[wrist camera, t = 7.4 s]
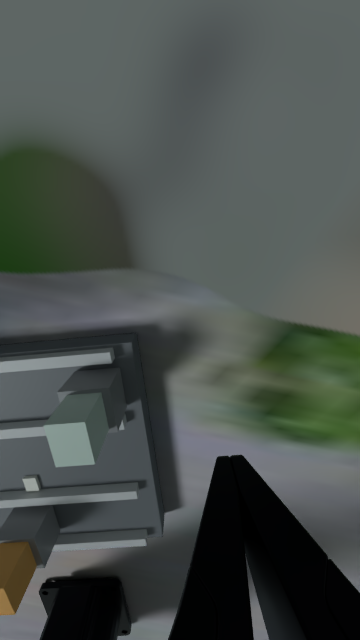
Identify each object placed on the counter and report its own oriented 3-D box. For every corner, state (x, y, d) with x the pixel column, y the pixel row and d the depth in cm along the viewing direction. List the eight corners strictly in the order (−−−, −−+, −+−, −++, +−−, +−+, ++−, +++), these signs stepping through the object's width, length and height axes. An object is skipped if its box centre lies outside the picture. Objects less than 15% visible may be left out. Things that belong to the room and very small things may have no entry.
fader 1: (60, 530, 16) (23, 616, 13) (25, 532, 17) (-23, 619, 13) (51, 503, 16) (10, 585, 12) (14, 505, 16) (-39, 588, 12)
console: (164, 513, 18) (162, 546, 16) (17, 523, 19) (-3, 557, 17) (136, 332, 14) (129, 346, 12) (-50, 349, 15) (-86, 365, 13)
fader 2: (126, 406, 14) (105, 467, 10) (84, 409, 14) (46, 471, 10) (119, 367, 13) (94, 416, 9) (75, 371, 13) (31, 421, 9)
